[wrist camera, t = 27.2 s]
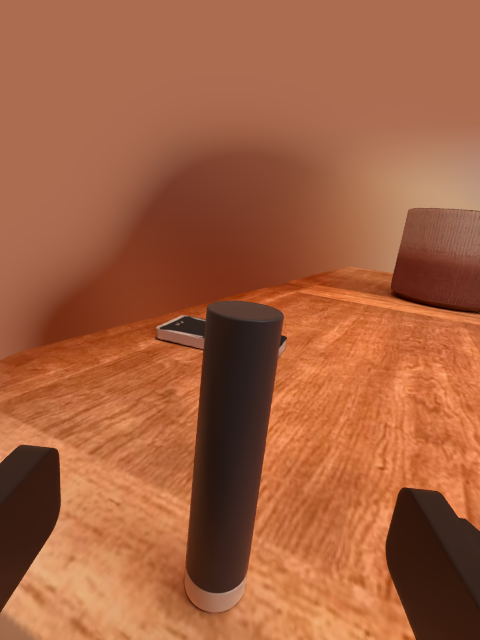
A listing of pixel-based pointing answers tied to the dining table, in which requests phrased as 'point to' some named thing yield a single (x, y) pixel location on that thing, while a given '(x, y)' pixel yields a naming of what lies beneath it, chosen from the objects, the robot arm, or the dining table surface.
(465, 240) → the planter
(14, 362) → the dining table surface
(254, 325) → the dark grey cylinder
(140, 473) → the dining table surface
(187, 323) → the smartphone
